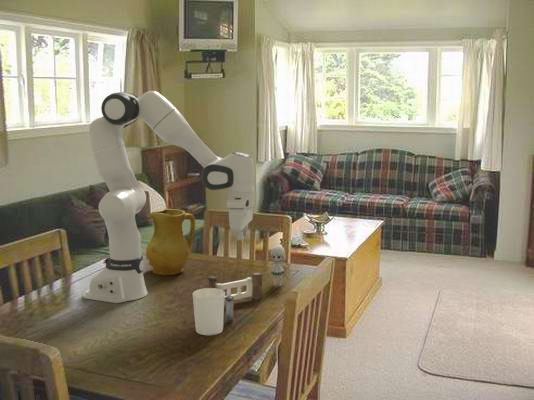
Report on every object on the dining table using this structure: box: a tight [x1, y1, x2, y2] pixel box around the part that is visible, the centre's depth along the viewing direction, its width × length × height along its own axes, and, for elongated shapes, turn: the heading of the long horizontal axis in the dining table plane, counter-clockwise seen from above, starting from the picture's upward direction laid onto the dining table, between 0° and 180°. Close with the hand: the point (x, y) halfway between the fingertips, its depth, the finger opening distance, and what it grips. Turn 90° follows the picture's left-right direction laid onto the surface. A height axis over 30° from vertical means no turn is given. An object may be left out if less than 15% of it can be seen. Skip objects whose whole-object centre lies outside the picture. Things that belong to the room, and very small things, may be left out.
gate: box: [216, 277, 253, 303], centre depth 224 cm, size 14×1×6 cm, turn 124°
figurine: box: [265, 245, 292, 287], centre depth 245 cm, size 10×6×15 cm, turn 68°
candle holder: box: [192, 287, 226, 336], centre depth 199 cm, size 10×10×12 cm
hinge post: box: [207, 276, 218, 288], centre depth 219 cm, size 3×3×11 cm
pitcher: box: [145, 208, 196, 276], centre depth 262 cm, size 17×19×25 cm
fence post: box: [252, 271, 263, 301], centre depth 229 cm, size 2×2×9 cm
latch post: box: [225, 295, 235, 324], centre depth 207 cm, size 3×3×8 cm
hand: (242, 237), depth 229 cm, fingers open, 4 cm apart
